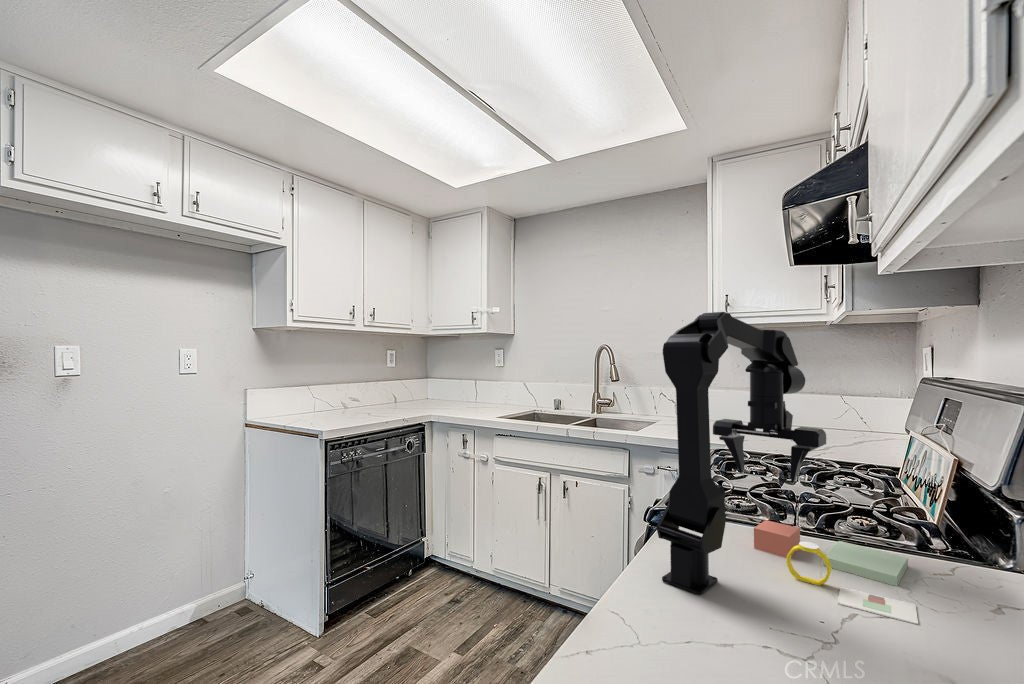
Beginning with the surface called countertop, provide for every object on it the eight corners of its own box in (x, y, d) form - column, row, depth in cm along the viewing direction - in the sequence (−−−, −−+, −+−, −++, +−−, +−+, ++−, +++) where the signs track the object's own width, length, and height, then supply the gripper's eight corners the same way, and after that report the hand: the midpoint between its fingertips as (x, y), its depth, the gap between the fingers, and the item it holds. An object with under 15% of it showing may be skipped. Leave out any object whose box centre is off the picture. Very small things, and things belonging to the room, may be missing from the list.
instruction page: (918, 624, 65) (918, 623, 65) (837, 603, 71) (837, 602, 71) (915, 605, 70) (915, 604, 70) (840, 587, 75) (840, 586, 75)
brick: (789, 559, 86) (789, 536, 86) (754, 549, 90) (753, 528, 90) (800, 549, 90) (799, 528, 90) (765, 540, 95) (765, 520, 95)
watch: (830, 585, 77) (833, 548, 77) (828, 592, 75) (830, 554, 75) (788, 571, 81) (790, 536, 81) (784, 577, 79) (787, 541, 78)
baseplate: (896, 586, 76) (896, 576, 76) (823, 565, 83) (823, 556, 83) (908, 566, 83) (907, 557, 83) (839, 548, 90) (838, 540, 90)
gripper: (833, 397, 92) (834, 479, 92) (733, 390, 106) (733, 462, 105) (817, 400, 85) (817, 490, 84) (711, 393, 98) (711, 471, 98)
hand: (766, 477), depth 93 cm, fingers open, 9 cm apart
